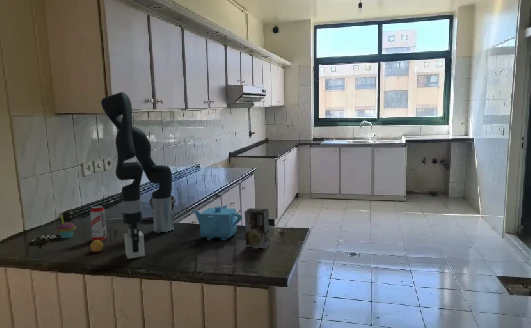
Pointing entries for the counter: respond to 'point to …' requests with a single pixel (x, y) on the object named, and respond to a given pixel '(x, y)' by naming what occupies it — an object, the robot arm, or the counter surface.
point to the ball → (96, 246)
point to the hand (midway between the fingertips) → (134, 249)
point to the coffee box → (257, 228)
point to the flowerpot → (171, 203)
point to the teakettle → (218, 222)
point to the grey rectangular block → (129, 246)
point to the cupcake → (66, 229)
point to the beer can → (98, 223)
